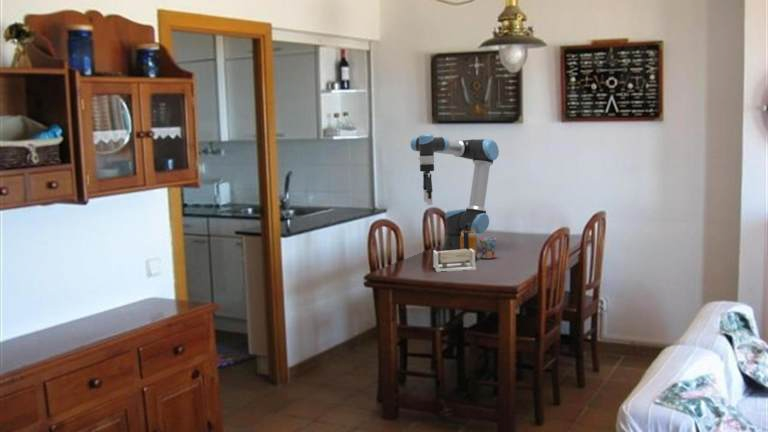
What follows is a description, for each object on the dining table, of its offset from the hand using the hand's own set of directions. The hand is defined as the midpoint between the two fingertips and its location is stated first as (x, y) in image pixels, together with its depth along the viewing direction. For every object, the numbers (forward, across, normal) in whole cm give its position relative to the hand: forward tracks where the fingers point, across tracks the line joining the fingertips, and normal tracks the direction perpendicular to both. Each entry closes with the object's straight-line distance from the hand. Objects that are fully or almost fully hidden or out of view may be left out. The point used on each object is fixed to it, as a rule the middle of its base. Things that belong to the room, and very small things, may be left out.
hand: (428, 203), depth 424 cm
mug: (+32, -4, +33) cm, 46 cm away
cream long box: (+28, +21, +10) cm, 36 cm away
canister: (+32, 0, +21) cm, 38 cm away
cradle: (+32, +21, +10) cm, 39 cm away
